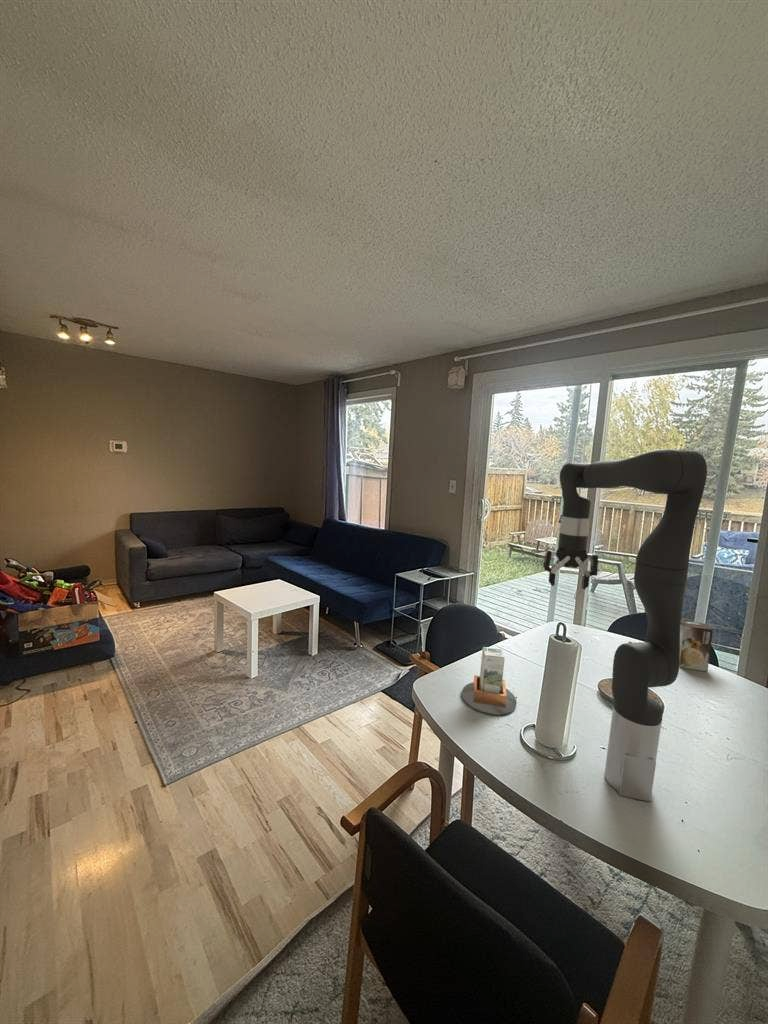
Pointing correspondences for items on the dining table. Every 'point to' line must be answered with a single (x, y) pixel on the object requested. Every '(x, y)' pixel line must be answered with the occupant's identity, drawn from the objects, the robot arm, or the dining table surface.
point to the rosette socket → (488, 699)
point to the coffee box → (695, 645)
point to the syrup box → (491, 670)
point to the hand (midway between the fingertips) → (567, 586)
